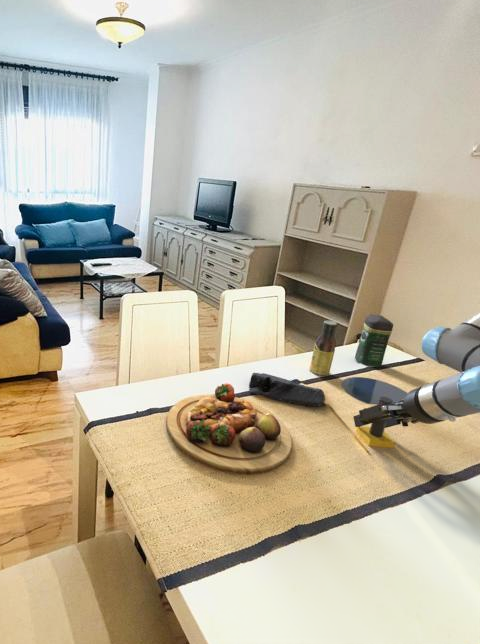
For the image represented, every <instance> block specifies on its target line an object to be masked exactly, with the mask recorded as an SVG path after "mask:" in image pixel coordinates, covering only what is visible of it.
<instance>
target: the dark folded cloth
mask: <svg viewBox="0 0 480 644" xmlns="http://www.w3.org/2000/svg"><path fill="white" fill-rule="evenodd" d="M248 388H249V389H248V390H249V391H248V392H249V393H250V394H252V395H254V396H256V395H257V396H261V397H263V398H267V399H272V400H275V401H284V402H287V403H290V404H296V405H301V406H306V407H308V406H313V407H315V406H316V407H321V406H322V405H324V402H325V400H326V398H325V397H326V395H325V393H324V391H323V389H322V388H318V387H311V386H307V385H304V384H300V383H297V382H295V381H293V380H290V379H289V380H288V379H286V378H283V377H280V376H276V375H272V374H268V373H263V372H262V373H260V372H252V374H251V376H250V379H249V383H248ZM264 389H266V390H268V392H264Z"/></svg>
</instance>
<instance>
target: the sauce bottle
mask: <svg viewBox="0 0 480 644" xmlns="http://www.w3.org/2000/svg"><path fill="white" fill-rule="evenodd" d="M337 327H338V323H337V322H336V321H334V320H324V321H323V323H322V330H321V334H319V336H318V337H317V339H316V340H315V342H314V347H313V351H312V355H311V360H310V361H311V362H310V364H309V372H310V373H312V374H313V375H315V376H319V377H327V376H329V374H330V371H331V368H332V364H333V360H334V356H335V351H336V346H337V341H336V338H335V332H336V329H337Z"/></svg>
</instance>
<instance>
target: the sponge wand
mask: <svg viewBox="0 0 480 644" xmlns="http://www.w3.org/2000/svg"><path fill="white" fill-rule="evenodd" d="M382 402H387V404H388V406H389V404H392V403H393V400H391V399H390V398H387V397H380V398H379V401H378V404H380V403H382ZM378 404H377V405H378ZM386 422H387V419H384V420H378V421H373V423H371V424H370V426H360V427H356V430H355V432H356V434H357V435H359V437H360V439H362V440H363V442H365V444H366V445H367V447H377V448H391V449H392V448H394V446H395V444H396V442H395V440H394V439H393V438H391V437H390V435H389V434H387V432H386V431H385V429H386V428H385V426H386ZM356 434H354V437H353V438H354V439H355V440H356V441H357V442H358V444H359V445H360V446H361V447H362V448H363V450H364V451H365V452H366V453H370V451H369V450H368V449H367V448H366V446H365V445H364V444H363V443H362V441H361V440H360V439H359V438H358V437H357V435H356Z"/></svg>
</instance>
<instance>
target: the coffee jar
mask: <svg viewBox="0 0 480 644" xmlns="http://www.w3.org/2000/svg"><path fill="white" fill-rule="evenodd" d="M393 328H394V323H393V322H392V321H390V320H389V319H388V318H386V317H385V316H383V315H381V314H380V315H379V314H373V313H372V314H369V315H367V316H366V317H365V319H364V322H363V327H362V331H361V334H360V339H359V342H358V345H357V348H356V352H355V354H354V360H355V361H356V362H357V363H358V364H361V365H363V366H367V367H374V368H381V367H382V365H383V362H384V358H385V354H386V350H387V347H388V344H389V343H388V342H389V340H390V337H391V335H392V333H393Z"/></svg>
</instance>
